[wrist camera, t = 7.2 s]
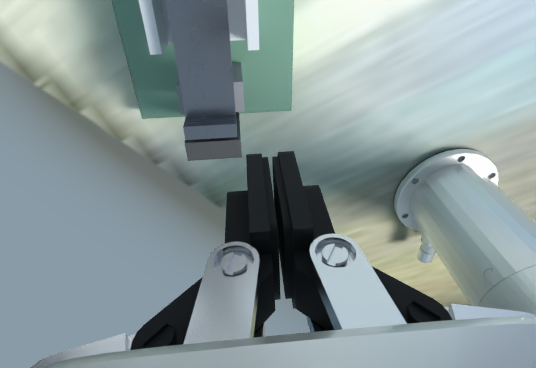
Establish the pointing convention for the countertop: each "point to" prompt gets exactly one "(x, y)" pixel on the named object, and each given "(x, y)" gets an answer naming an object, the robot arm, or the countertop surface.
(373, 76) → the countertop surface
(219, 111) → the thin grey bar
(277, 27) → the base
